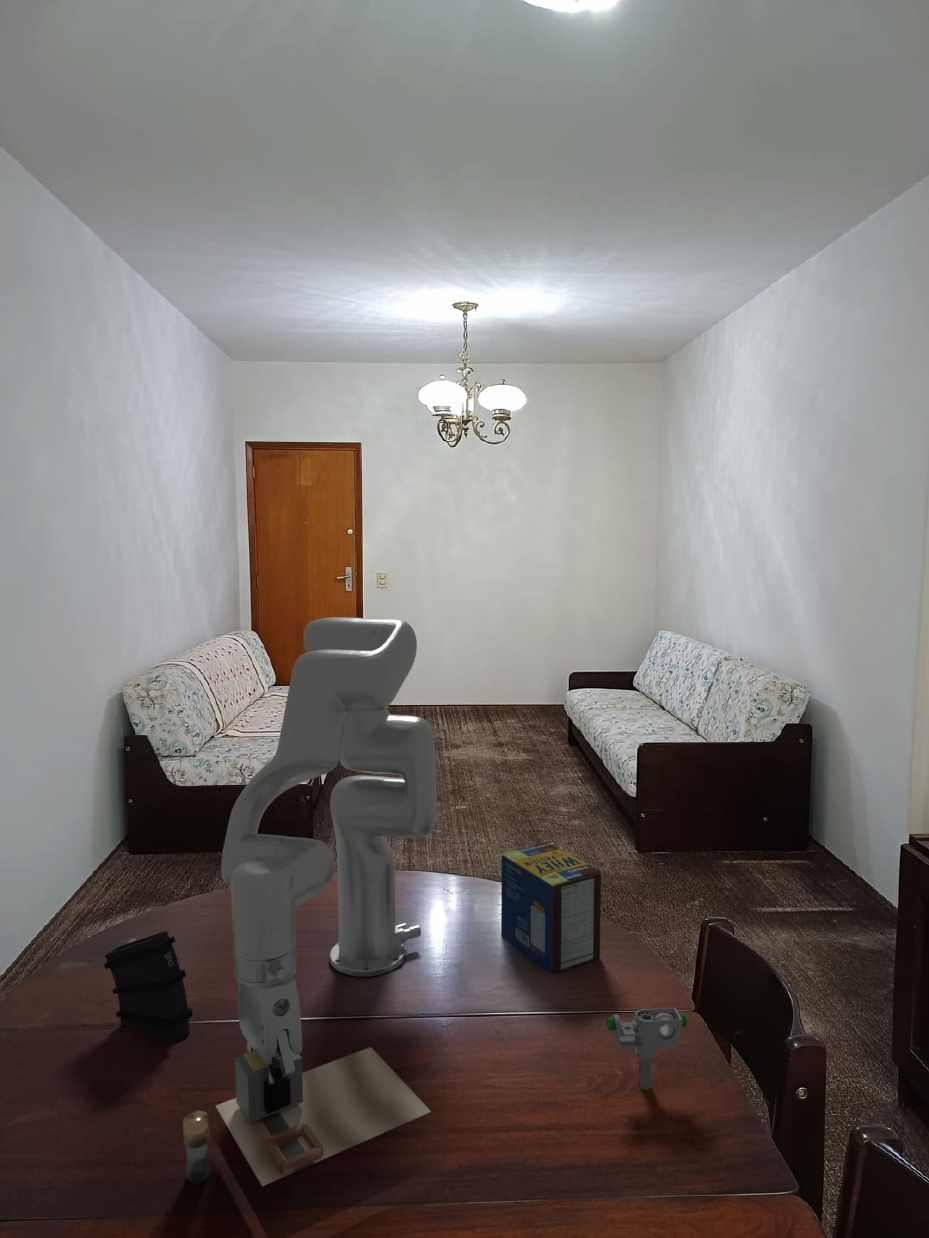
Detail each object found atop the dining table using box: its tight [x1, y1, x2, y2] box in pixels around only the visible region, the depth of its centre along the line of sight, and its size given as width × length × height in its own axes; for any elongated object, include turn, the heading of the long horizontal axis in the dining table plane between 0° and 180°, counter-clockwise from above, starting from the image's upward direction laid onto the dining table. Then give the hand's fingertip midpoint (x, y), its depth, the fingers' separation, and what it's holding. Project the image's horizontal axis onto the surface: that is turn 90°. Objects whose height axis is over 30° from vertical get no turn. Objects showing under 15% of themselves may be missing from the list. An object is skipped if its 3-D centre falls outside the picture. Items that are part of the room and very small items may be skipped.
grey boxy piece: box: [234, 1049, 303, 1123], centre depth 111 cm, size 7×4×7 cm, turn 124°
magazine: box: [103, 930, 193, 1044], centre depth 130 cm, size 4×13×15 cm, turn 64°
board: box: [215, 1046, 432, 1187], centre depth 112 cm, size 22×16×2 cm
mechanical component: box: [606, 1007, 688, 1091], centre depth 117 cm, size 3×10×10 cm, turn 95°
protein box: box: [500, 842, 602, 975], centre depth 154 cm, size 10×15×16 cm
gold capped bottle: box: [182, 1110, 210, 1184], centre depth 102 cm, size 3×3×7 cm
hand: (269, 1095), depth 112 cm, fingers closed on grey boxy piece, 4 cm apart
